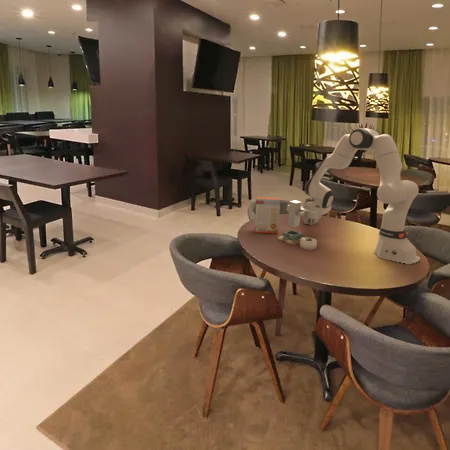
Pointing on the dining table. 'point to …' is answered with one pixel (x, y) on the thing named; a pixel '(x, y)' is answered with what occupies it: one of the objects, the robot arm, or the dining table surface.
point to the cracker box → (267, 215)
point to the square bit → (294, 213)
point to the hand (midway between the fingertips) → (293, 213)
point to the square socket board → (291, 237)
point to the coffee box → (309, 220)
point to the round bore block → (308, 243)
